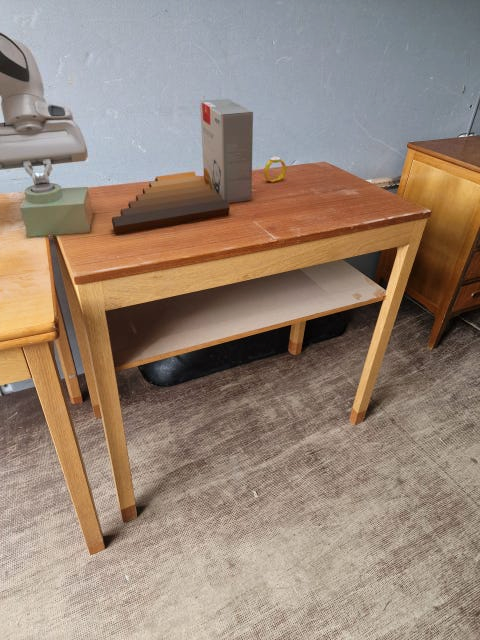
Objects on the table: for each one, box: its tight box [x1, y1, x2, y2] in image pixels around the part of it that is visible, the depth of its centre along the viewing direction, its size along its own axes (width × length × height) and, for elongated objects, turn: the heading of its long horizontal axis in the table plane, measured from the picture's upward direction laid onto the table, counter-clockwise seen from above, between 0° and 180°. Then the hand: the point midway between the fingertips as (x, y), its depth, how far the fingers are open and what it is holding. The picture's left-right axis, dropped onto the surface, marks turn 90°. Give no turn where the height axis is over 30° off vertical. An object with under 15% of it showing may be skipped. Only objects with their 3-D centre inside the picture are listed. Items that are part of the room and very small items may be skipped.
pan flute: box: [111, 171, 231, 236], centre depth 102 cm, size 25×3×25 cm
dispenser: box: [19, 182, 94, 238], centre depth 92 cm, size 12×10×8 cm
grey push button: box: [31, 184, 53, 193], centre depth 90 cm, size 4×4×2 cm
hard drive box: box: [199, 98, 254, 204], centre depth 105 cm, size 16×8×20 cm, turn 21°
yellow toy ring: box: [263, 156, 287, 183], centre depth 116 cm, size 6×3×6 cm, turn 118°
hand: (41, 183), depth 89 cm, fingers closed, pressing on grey push button
